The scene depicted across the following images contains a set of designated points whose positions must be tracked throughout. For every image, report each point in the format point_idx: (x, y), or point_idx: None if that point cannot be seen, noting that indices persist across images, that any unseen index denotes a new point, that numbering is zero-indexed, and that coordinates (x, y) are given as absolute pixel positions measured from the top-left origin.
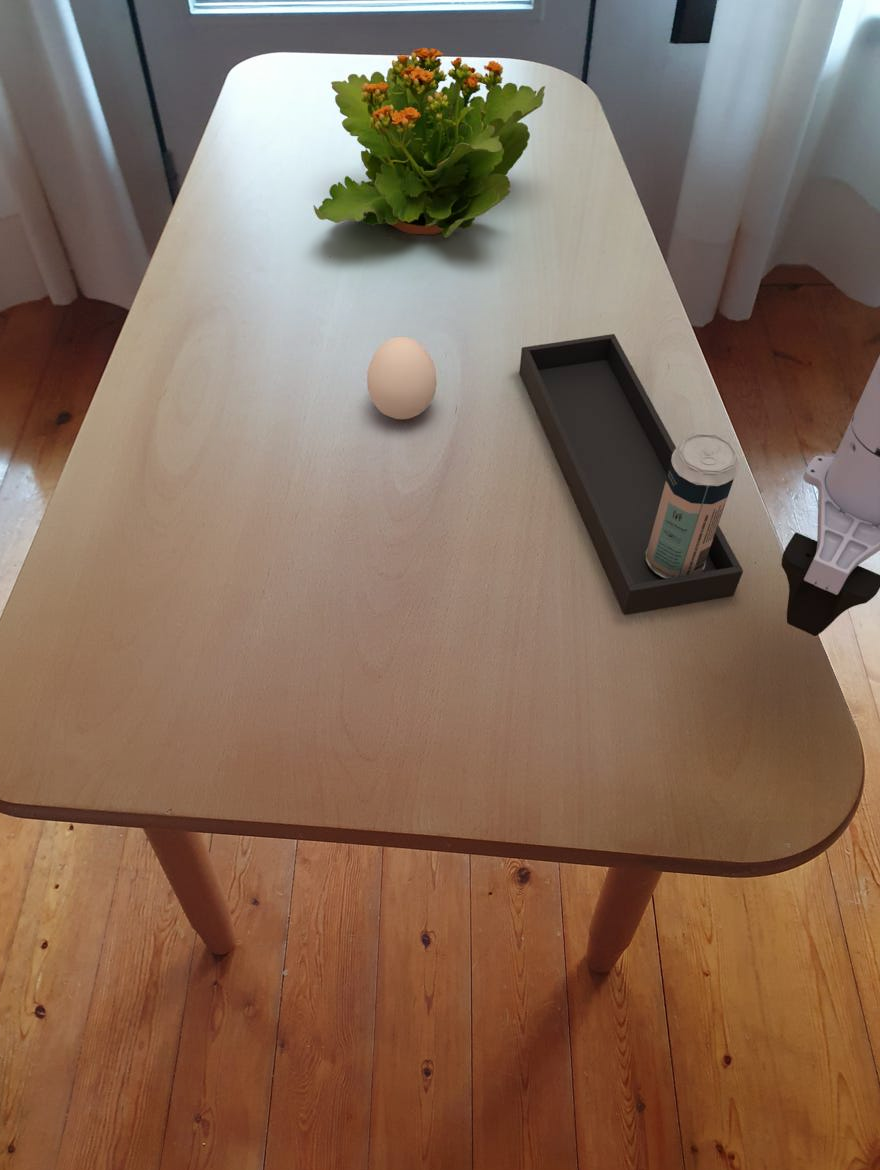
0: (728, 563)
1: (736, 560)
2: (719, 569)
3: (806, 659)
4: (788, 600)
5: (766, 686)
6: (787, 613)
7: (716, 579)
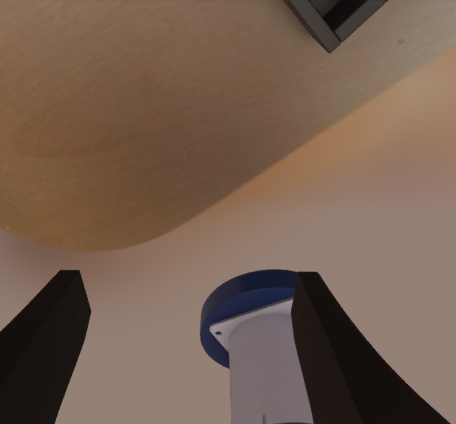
0: (344, 16)
1: (352, 30)
2: (315, 8)
3: (247, 168)
4: (14, 318)
5: (177, 143)
6: (45, 286)
7: (295, 11)
